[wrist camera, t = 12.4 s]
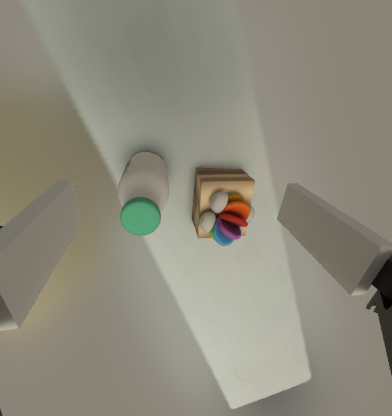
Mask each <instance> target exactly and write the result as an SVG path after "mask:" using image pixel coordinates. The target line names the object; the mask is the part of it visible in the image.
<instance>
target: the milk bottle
mask: <svg viewBox="0 0 392 416" xmlns="http://www.w3.org/2000/svg"><path fill="white" fill-rule="evenodd" d="M118 196H119V200H120V203H121V205H122V207H123V208H122V211H121V215H120V220H121V223H122V226H123V227H124V229H125V230H127V231H128V232H129V233H131V234H134V235H147V234H150V233H152V232H153V231H155V230H156V229H157V227H158V226H159V224H160V220H161V214H160V212H161V211H162V209H163V208H164V207H165V205H166V203H167V201H168V197H169V182H168V175H167V169H166V166H165V163H164V162H163V160H162V159H161V158H160V157H159V156H158V155H156V154H154V153H151V152H140V153H137V154H136V155H134V156H133V157H132V158H131V159H130V160H129V162H128V164H127V166H126V168H125V170H124V172H123V175H122V177H121V180H120V183H119V186H118Z"/></svg>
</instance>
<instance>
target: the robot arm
mask: <svg viewBox="0 0 392 416" xmlns="http://www.w3.org/2000/svg"><path fill="white" fill-rule="evenodd" d="M277 220H278V221H279V222H280V223H281V224H282V225H283V226H284V227H285V228H286V229H287V230H288V231H289V232H290V233H291V234H292V235H293V236H294V237H295V238H296V239H297V240H298V241H299V242H300V243H301V245H302V246H303V247H304V248H305V249H307V251H308V252H309V253H310V254H311V255H312V256H313V257H314V258H315V259H316V260H317V261H318V262H319V263H320V264H321V265H322V266H323V267H324V268H325V269H326V270H327V272H328V273H329V274H330V275H331V276H332V277H333V278H334V279H335V280H336V281H337V282H338V283H339V284H340V285H341V286H342V287H343V288H344V289H345V290H346V291H347V292H348V293H349V294H350V295H351V296H353V295H362V294H366V292H367V290H368V289H369V288H370V286H371V285H373V286H374V287H376V288H377V289H378V290H377V292H376V293H375V294H374V296H373V297H372V299H371V300H370V301H369V303H368V304H367V309H370V308H371V307H372V306H376V308H375V310H374V312H376V313H378V316H379V321H380V325H381V330H382V334H383V339H384V343H385V347H386V352H387V357H388V361H389V366H390V370H391V375H392V243H391V242H389V241H388V240H386V239H385V238H383V237H381V236H380V235H378V234H376V233H375V232H373V231H372V230H370V229H369V228H367V227H365V226H364V225H362V224H361V223H359V222H358V221H356V220H355V219H353V218H351V217H350V216H348V215H347V214H345V213H343V212H342V211H340V210H339V209H337V208H336V207H334V206H332V205H331V204H329V203H328V202H326V201H325V200H323V199H321V198H320V197H318V196H317V195H315V194H313V193H312V192H310V191H309V190H307V189H306V188H304V187H302V186H301V185H299V184H288V185H287V188H286V191H285V194H284V197H283V201H282V204H281V207H280V211H279V214H278V217H277ZM80 224H81V219H80V214H79V210H78V205H77V200H76V196H75V191H74V187H73V182H72V181H65V180H57V181H56V182H55V183H53V184H52V185H51V186H50V187H49V188H47V189H46V190H45V191H44V192H43V193H42V194H41V195H39V196H38V197H37V198H36V199H35V200H34V201H32V202H31V203H30V204H29V205H28V206H27V207H25V208H24V209H23V210H22V211H21V212H20V213H18V214H17V215H16V216H15V217H14V218H13V219H11V220H10V221H9V222H8V223H7V224H6V225H5V226H0V331H3V330H14V329H19V328H20V327H21V325H22V323H23V321H24V320H25V318H26V316H27V315H28V313H29V311H30V309H31V308H32V306H33V304H34V303H35V301H36V299H37V298H38V296H39V294H40V292H41V290H42V289H43V287H44V286H45V284H46V282H47V281H48V279H49V277H50V275H51V274H52V272H53V270H54V269H55V267H56V265H57V264H58V262H59V260H60V258H61V257H62V255H63V253H64V252H65V250H66V248H67V246H68V245H69V243H70V241H71V240H72V238H73V236H74V235H75V233H76V231H77V229H78V228H79V225H80ZM0 416H2V413H1V410H0Z"/></svg>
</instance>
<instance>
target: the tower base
mask: <svg viewBox="0 0 392 416" xmlns="http://www.w3.org/2000/svg"><path fill="white" fill-rule="evenodd" d="M217 174H247V173H245V172H244V171H243V170H242V169H213V168H196V176H195V187H194V199H193V211H192V220H193V224H194V227H195V218H196V198H197V178H198V175H217ZM247 175H248V174H247Z"/></svg>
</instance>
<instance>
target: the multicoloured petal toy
mask: <svg viewBox="0 0 392 416" xmlns="http://www.w3.org/2000/svg"><path fill="white" fill-rule="evenodd" d="M210 206H211V208H212V210H213V211H214V212H215V213H220V214H219V216H218V215H215V213H214V212H206V213H204V214H203V215H202V216H201V218H200V220H199V225H200V228H201V229H202V230H203V231H204V232H206V233H208V232H209V234H210V236H211V237H212V238H213V239H214V240H216V242H217V243H218V244H220V245H222V246H226V245H229V244H231V243H232V242H233V241H235V240H237V239H239V238H240V237H241V235H242V231H243V230H242V227H247V225H248V223H249V222H250V221H251V220H252V219H253V217H254V209H253V207H252V206H251V205H250V204H248V203H246V202H245V199H244V197H243V196H242V195H240V194H231V195H229V196H228V194H227V193H226V192H218V193H216V194H214V195H213V197H212V198H211V201H210Z"/></svg>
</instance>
